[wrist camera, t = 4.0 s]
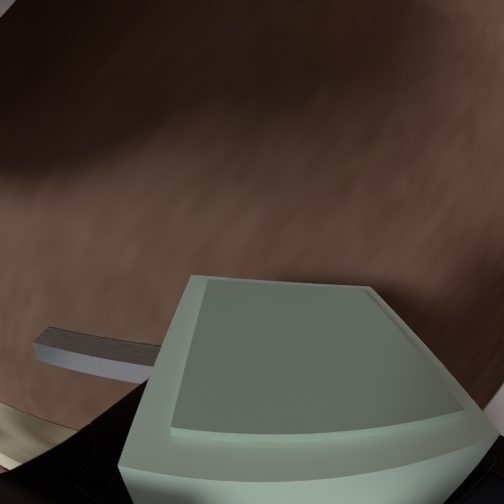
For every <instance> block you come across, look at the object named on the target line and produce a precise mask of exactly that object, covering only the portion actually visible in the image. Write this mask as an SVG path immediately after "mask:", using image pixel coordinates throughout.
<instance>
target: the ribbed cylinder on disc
mask: <svg viewBox="0 0 504 504" xmlns="http://www.w3.org/2000/svg"><path fill="white" fill-rule="evenodd" d="M14 2H15V0H0V17H1V16H2V15H3V14H4V13H5V12H6V11H7V9H8V8H9V7H10V6H11V5H12V4H13V3H14Z"/></svg>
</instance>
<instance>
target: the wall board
mask: <svg viewBox="0 0 504 504" xmlns="http://www.w3.org/2000/svg"><path fill="white" fill-rule="evenodd" d="M76 432H78V431H76V430H73V429H69V428H66V427H63V426H60V425H57V424H54V423H51V422H48V421H45V420H43V419H40V418H37V417H35V416H32V415H29V414H27V413H24V412H22V411H19V410H17V409H14V408H12V407H10V406H7V405H5V404H3V403H1V402H0V465H2V466H3V467H5V468H7V469H9V470H11V469H13V468H15V467H17V466H19V465H21V464H23V463H25V462H27V461H29V460H31V459H33V458H35V457H36V456H38V455H40V454H42V453H44V452H46V451H48V450H49V449H51V448H53V447H55V446H56V445H58V444H60V443H61V442H63V441H65V440H66V439H68V438H69V437H71V436H72V435H73V434H75V433H76Z"/></svg>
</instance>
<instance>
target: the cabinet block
mask: <svg viewBox="0 0 504 504" xmlns="http://www.w3.org/2000/svg"><path fill="white" fill-rule="evenodd" d="M499 435H500V433H499V432H498V430H497V429H496V428H495V426H494V425H493V424H492V423H491V421H490V420H489V419H488V418H487V417H486V415H485V414H484V413H483V411H482V410H481V409H480V408H479V407H478V405H477V404H476V403H475V402H474V400H473V399H472V398H471V397H470V396H469V394H468V393H467V392H466V391H465V390H464V389H463V387H462V386H461V385H460V384H459V383H458V382H457V380H456V379H455V378H454V377H453V376H452V375H451V373H450V372H449V371H448V370H447V369H446V368H445V367H444V365H443V364H442V363H441V362H440V361H439V360H438V359H437V357H436V356H435V355H434V354H433V353H432V352H431V351H430V350H429V349H428V347H427V346H426V345H425V344H424V343H423V342H422V341H421V340H420V339H419V338H418V336H417V335H416V334H415V333H414V332H413V331H412V330H411V329H410V328H409V327H408V326H407V325H406V324H405V322H404V321H403V320H402V319H401V318H400V317H399V316H398V315H397V314H396V313H395V312H394V311H393V310H392V309H391V308H390V307H389V306H388V305H387V303H386V302H385V301H384V300H383V299H382V298H381V297H380V296H379V295H378V294H377V293H376V292H375V291H374V290H373V289H372V288H371V287H369V286H348V285H329V284H312V283H295V282H280V281H265V280H250V279H237V278H223V277H211V276H198V275H191V277H190V279H189V282H188V284H187V286H186V289H185V291H184V293H183V296H182V298H181V300H180V303H179V305H178V308H177V310H176V312H175V315H174V317H173V320H172V322H171V324H170V327H169V329H168V332H167V334H166V337H165V339H164V342H163V344H162V347H161V349H160V352H159V354H158V357H157V359H156V362H155V364H154V367H153V370H152V372H151V375H150V377H149V380H148V383H147V385H146V388H145V390H144V393H143V396H142V398H141V401H140V404H139V406H138V409H137V412H136V415H135V417H134V420H133V423H132V426H131V428H130V431H129V434H128V437H127V440H126V443H125V445H124V448H123V451H122V454H121V457H120V460H119V463H118V467H119V470H120V473H121V475H122V478H123V480H124V483H125V485H126V487H127V490H128V492H129V494H130V496H131V499H132V501H133V503H134V504H443V503H444V502H445V501H446V500H447V499H448V498H449V496H450V495H451V494H452V493H453V492H454V491H455V490H456V489H457V488H458V487H459V486H460V485H461V483H462V482H463V481H464V480H465V479H466V478H467V476H468V475H469V474H470V473H471V472H472V471H473V469H474V468H475V467H476V466H477V464H478V463H479V462H480V461H481V459H482V458H483V457H484V455H485V454H486V453H487V452H488V450H489V449H490V447H491V446H492V445H493V443H494V442H495V441H496V439H497V438H498V436H499Z"/></svg>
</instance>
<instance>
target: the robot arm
mask: <svg viewBox="0 0 504 504" xmlns="http://www.w3.org/2000/svg"><path fill="white" fill-rule="evenodd" d="M148 380H149V378H148V379H147V380H145V381H144V382H143V383H141V384H140V385H139V386H138V387H136V388H135V389H134V390H132V391H131V392H130V393H129V394H127V395H126V396H125V397H123V398H122V399H121V400H119V401H118V402H117V403H115V404H114V405H113V406H112V407H110V408H109V409H108V410H106V411H105V412H104V413H102V414H101V415H100V416H98V417H97V418H96V419H94V420H93V421H92V422H91V423H90V424H91V425H90V424H87V425H86V426H85V427H83V428H82V429H81V430H79V431H78V432H76V433H75V434H73V435H72V436H71V437H69V438H68V439H66V440H65V441H63V442H61V443H60V444H58V445H56V446H55V447H53V448H51V449H49V450H48V451H46V452H44V453H42V454H40V455H38V456H36V457H35V458H33V459H31V460H29V461H27V462H25V463H23V464H21V465H19V466H17V467H15V468H13V469H11V470H9V471H6V472H3V473H0V504H134V503H133V501H132V499H131V496H130V494H129V492H128V490H127V487H126V485H125V483H124V480H123V478H122V475H121V473H120V470H119V467H118V463H119V460H120V457H121V454H122V451H123V448H124V445H125V443H126V440H127V437H128V434H129V431H130V428H131V426H132V423H133V420H134V417H135V415H136V412H137V409H138V406H139V404H140V401H141V398H142V396H143V393H144V390H145V388H146V385H147V383H148ZM443 504H504V436H502V435H499V436H498V438H497V439H496V441H495V442H494V443H493V445H492V446H491V447H490V449H489V450H488V452H487V453H486V454H485V455H484V457H483V458H482V459H481V461H480V462H479V463H478V464H477V466H476V467H475V468H474V469H473V471H472V472H471V473H470V474H469V475H468V476H467V478H466V479H465V480H464V481H463V482H462V483H461V485H460V486H459V487H458V488H457V489H456V490H455V491H454V492H453V493H452V494H451V495H450V496H449V498H448V499H447V500H446V501H445V502H444V503H443Z"/></svg>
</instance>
